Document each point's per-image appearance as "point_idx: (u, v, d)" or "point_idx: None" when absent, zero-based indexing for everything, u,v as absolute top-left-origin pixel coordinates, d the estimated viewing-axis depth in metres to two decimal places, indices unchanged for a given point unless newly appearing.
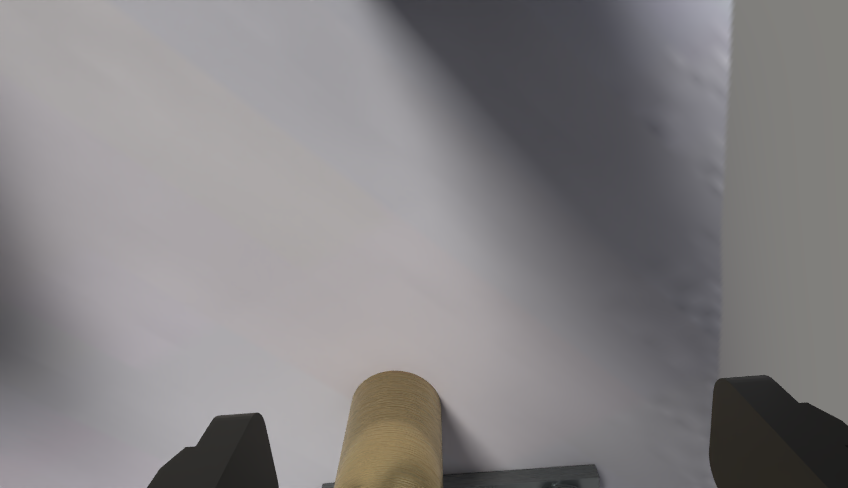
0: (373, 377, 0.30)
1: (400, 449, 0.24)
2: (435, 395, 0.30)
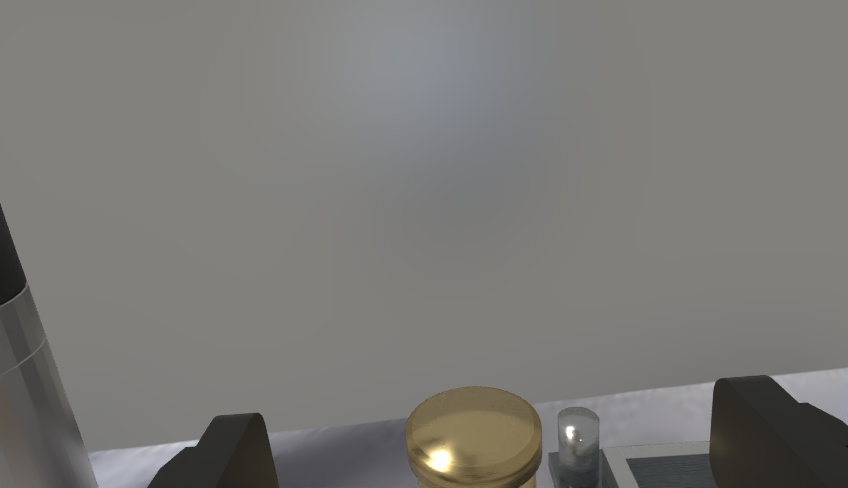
0: None
1: None
2: None
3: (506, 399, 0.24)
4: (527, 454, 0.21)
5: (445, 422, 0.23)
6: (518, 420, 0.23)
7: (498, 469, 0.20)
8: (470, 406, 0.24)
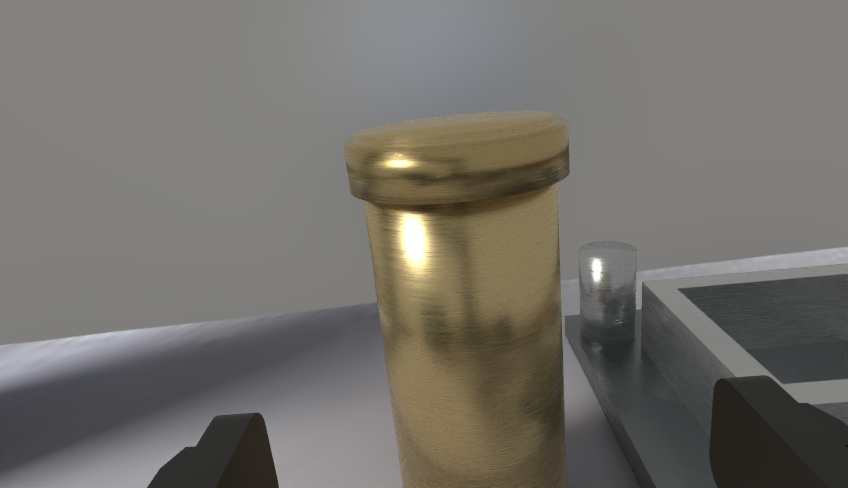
0: None
1: None
2: None
3: (509, 112, 0.15)
4: (547, 131, 0.12)
5: (409, 127, 0.14)
6: (529, 115, 0.14)
7: (496, 144, 0.11)
8: (451, 119, 0.15)
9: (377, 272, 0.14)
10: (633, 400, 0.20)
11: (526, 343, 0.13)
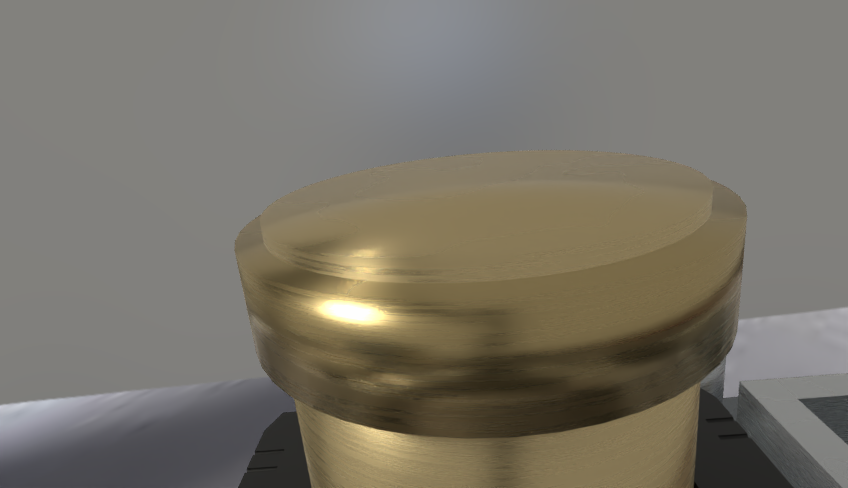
0: None
1: None
2: None
3: (581, 157, 0.08)
4: (726, 238, 0.05)
5: (383, 194, 0.07)
6: (642, 175, 0.06)
7: (608, 287, 0.04)
8: (470, 171, 0.07)
9: None
10: None
11: None
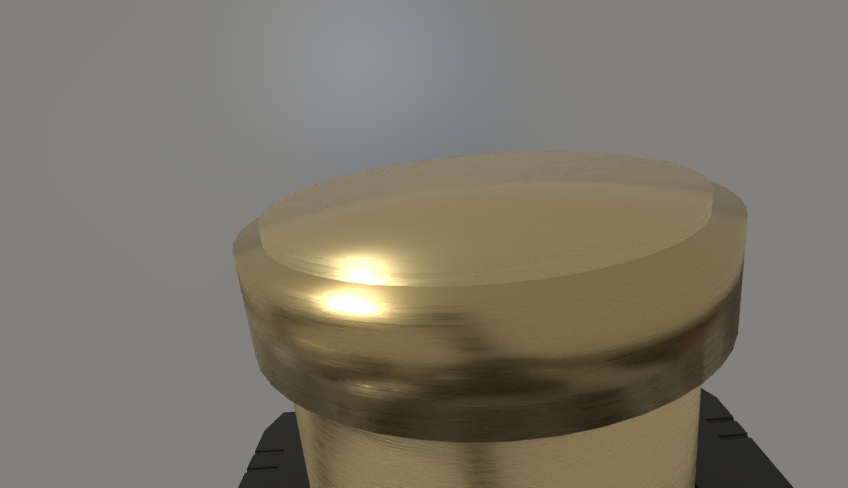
0: None
1: None
2: None
3: (581, 158, 0.08)
4: (727, 240, 0.05)
5: (382, 196, 0.07)
6: (641, 176, 0.06)
7: (607, 290, 0.04)
8: (469, 172, 0.07)
9: None
10: None
11: None
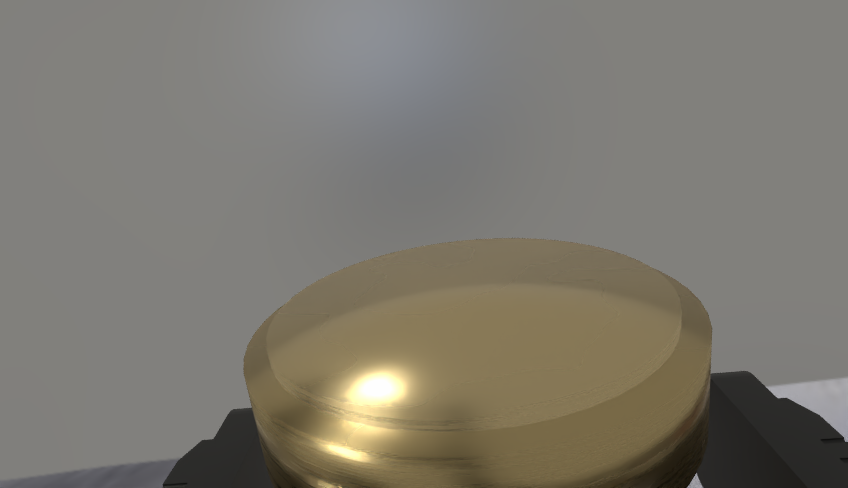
0: None
1: None
2: None
3: (566, 252, 0.08)
4: (689, 376, 0.05)
5: (380, 305, 0.07)
6: (619, 287, 0.07)
7: (579, 438, 0.05)
8: (461, 270, 0.08)
9: None
10: None
11: None
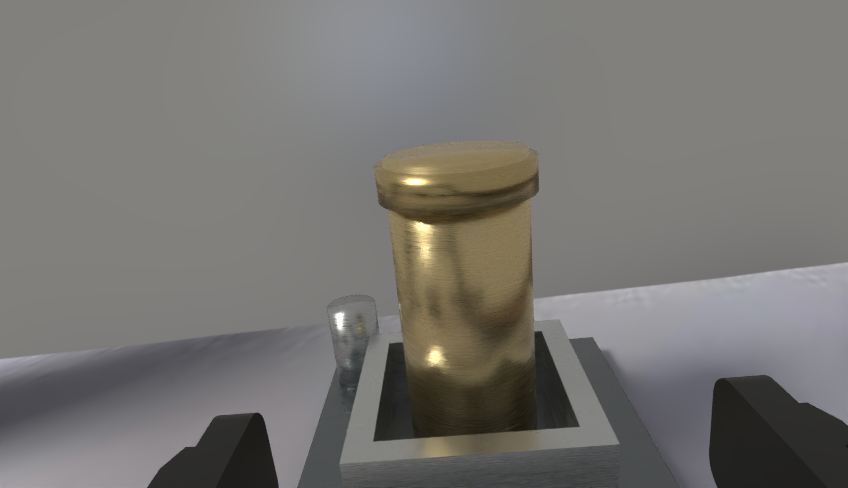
0: None
1: None
2: None
3: (497, 143, 0.20)
4: (519, 164, 0.17)
5: (422, 155, 0.19)
6: (510, 149, 0.19)
7: (483, 174, 0.17)
8: (453, 148, 0.20)
9: (397, 261, 0.19)
10: (330, 442, 0.24)
11: (503, 314, 0.18)
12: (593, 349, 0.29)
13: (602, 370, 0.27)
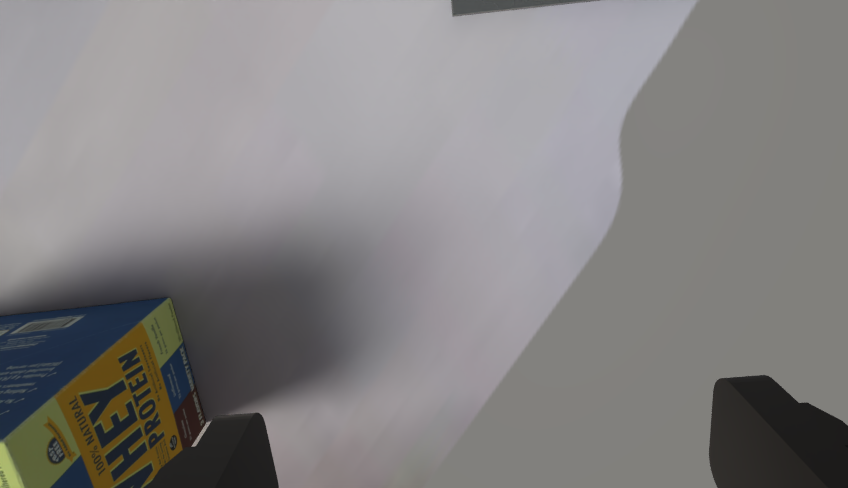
0: None
1: None
2: None
3: None
4: None
5: None
6: None
7: None
8: None
9: None
10: None
11: None
12: None
13: None
